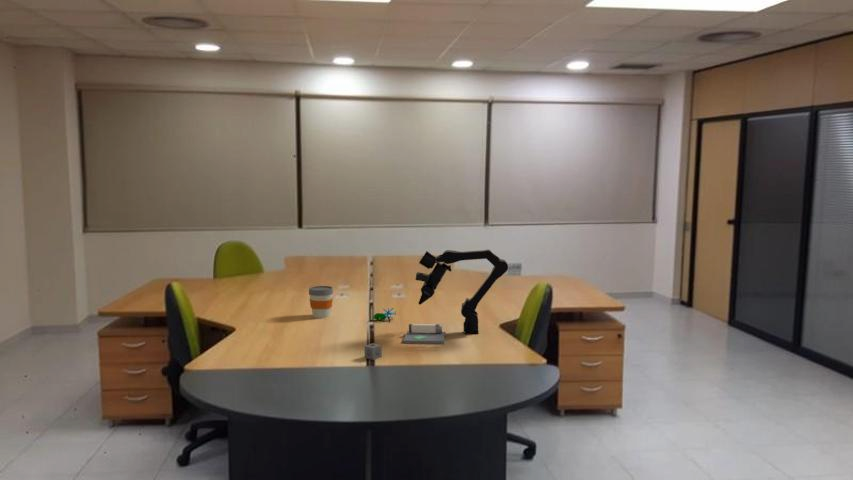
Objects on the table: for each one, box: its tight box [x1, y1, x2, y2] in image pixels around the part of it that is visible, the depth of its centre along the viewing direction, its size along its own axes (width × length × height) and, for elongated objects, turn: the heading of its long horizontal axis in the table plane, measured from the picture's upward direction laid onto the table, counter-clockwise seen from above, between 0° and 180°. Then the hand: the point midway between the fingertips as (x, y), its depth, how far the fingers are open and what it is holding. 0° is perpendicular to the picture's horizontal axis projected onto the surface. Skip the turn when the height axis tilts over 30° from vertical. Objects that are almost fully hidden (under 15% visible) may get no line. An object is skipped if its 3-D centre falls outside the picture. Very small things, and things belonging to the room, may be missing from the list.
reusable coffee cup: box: [308, 285, 334, 319], centre depth 332 cm, size 13×13×15 cm
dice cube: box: [363, 342, 383, 361], centre depth 261 cm, size 5×5×5 cm
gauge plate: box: [402, 330, 447, 345], centre depth 289 cm, size 18×16×1 cm
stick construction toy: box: [372, 307, 397, 323], centre depth 321 cm, size 12×7×8 cm
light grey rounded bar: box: [408, 323, 443, 334], centre depth 293 cm, size 16×3×4 cm, turn 85°
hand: (420, 302), depth 299 cm, fingers open, 9 cm apart
